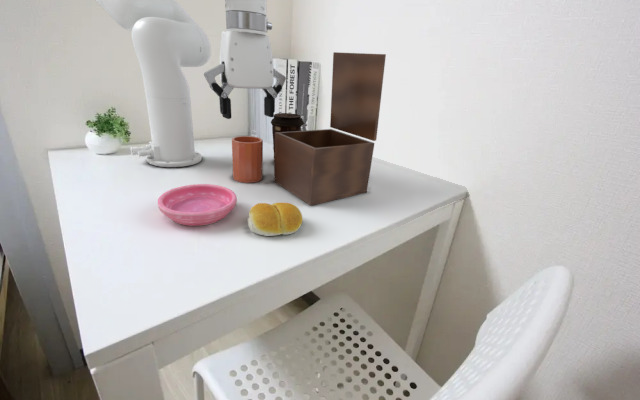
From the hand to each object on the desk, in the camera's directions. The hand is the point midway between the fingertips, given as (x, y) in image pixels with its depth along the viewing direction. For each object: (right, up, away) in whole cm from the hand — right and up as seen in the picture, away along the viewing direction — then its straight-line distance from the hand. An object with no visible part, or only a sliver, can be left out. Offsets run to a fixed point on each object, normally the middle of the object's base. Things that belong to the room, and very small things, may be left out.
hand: (248, 117), depth 66 cm
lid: (+22, +5, 0) cm, 23 cm away
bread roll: (+8, -22, -14) cm, 27 cm away
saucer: (-6, -20, -12) cm, 24 cm away
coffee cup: (+6, -8, +18) cm, 21 cm away
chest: (+15, -15, +4) cm, 22 cm away
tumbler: (-2, -13, +6) cm, 14 cm away
